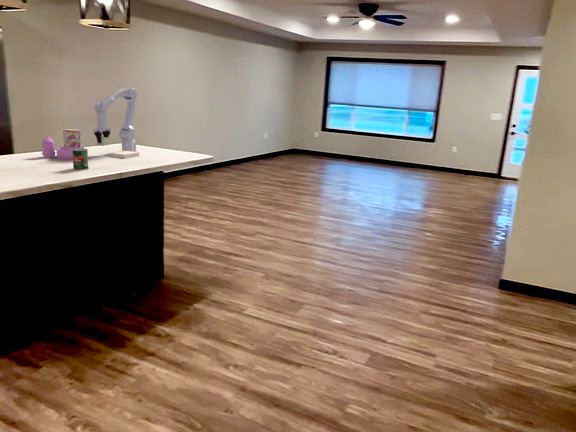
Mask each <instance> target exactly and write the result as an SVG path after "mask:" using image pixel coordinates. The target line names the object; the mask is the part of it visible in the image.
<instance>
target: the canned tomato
mask: <svg viewBox="0 0 576 432" xmlns="http://www.w3.org/2000/svg"><path fill="white" fill-rule="evenodd" d="M72 150H73V160H72V163H73V164H72V165H73V170H75V171H76V170H77V171H84V170H89V149H88V148H84V149H83V148H77V149H72Z"/></svg>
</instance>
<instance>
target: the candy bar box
mask: <svg viewBox="0 0 576 432" xmlns="http://www.w3.org/2000/svg"><path fill="white" fill-rule="evenodd" d="M62 132H63V133H62V135H63V147H80V148H83V149H85V146H84V130H81V129H70V128H64V129H62Z"/></svg>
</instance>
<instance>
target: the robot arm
mask: <svg viewBox="0 0 576 432" xmlns="http://www.w3.org/2000/svg"><path fill="white" fill-rule="evenodd" d="M137 95H138V92H137V90H136V89H135V88H134V87H123V86H122V87H120V88H119V90H118V91H117V92H115V93H114V94H113V95H111V96H106V97H105V98H104V99H103V100H100V102H97V103H95V105H94V107H93V108H94V110H95V113H96V122H97V123H96V125H97V127H96V128H92V133H93V134H94V136H95V138H96V142H97V141H98V143H101V137H108V138H109V137H110V135H111V132H112V128H111V127H107V112H108V110H109V108H111V107H112V106H113V105H114V104H115V102H116V101H118V100H119V99H121V98H123V99H124V100H125V101H126V102H127V106H126V111H125V112H126V113H125V118H124V124H123V125H122V126H121V127H120V129H119V133H118V137H119V138H120V140H121V151H132V152H138V151H137V143H136V140H135V137H136V132H135V131H136V130H135V128H134V119H135V114H136V113H135V112H136V106H137V101H138V100H137Z"/></svg>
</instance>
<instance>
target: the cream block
mask: <svg viewBox="0 0 576 432" xmlns="http://www.w3.org/2000/svg"><path fill="white" fill-rule="evenodd" d="M109 156H110V157H111V158H118V159H130V158H131V159H132V158H136V157H140V152H138V151H137V152H132V151H122V150H120V151H115V152H110V154H109Z"/></svg>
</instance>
